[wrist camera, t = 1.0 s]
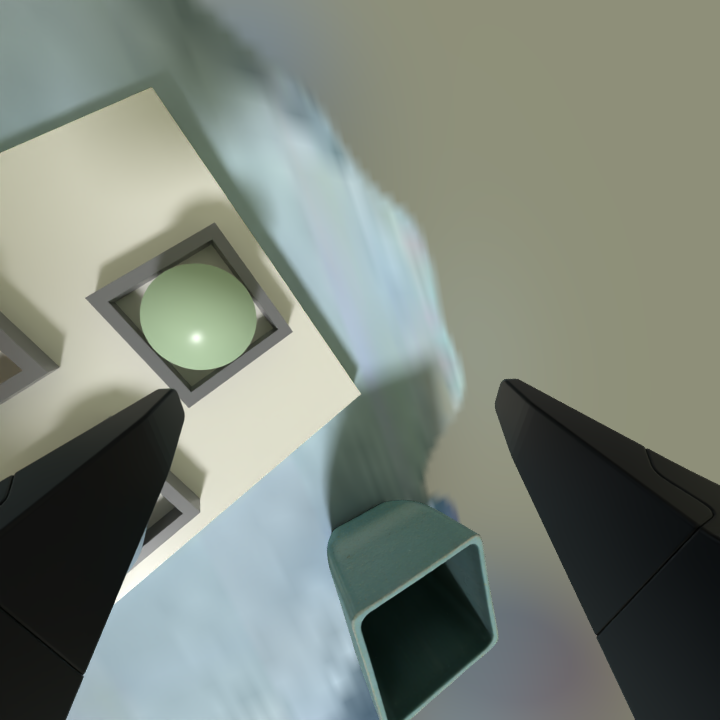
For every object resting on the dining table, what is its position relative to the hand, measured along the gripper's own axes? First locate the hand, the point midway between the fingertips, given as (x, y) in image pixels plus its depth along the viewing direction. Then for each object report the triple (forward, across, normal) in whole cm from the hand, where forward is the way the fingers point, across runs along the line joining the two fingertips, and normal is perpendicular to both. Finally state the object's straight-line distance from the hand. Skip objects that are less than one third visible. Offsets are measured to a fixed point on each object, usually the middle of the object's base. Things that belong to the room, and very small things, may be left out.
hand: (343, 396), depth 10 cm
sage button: (+9, +7, +2) cm, 12 cm away
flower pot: (+8, -2, +21) cm, 23 cm away
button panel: (+9, +12, +5) cm, 16 cm away
